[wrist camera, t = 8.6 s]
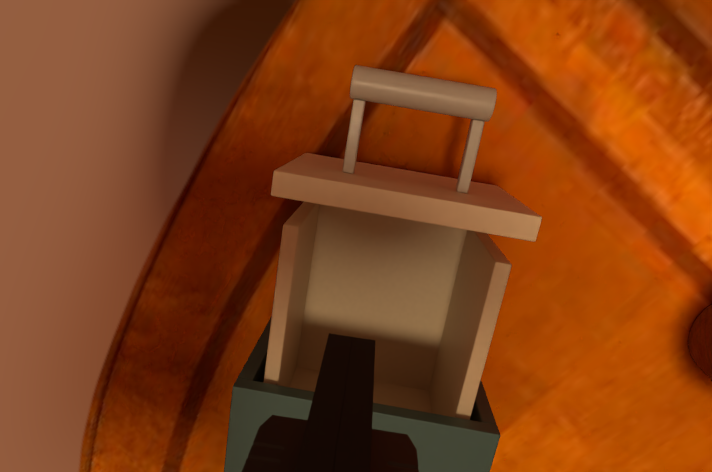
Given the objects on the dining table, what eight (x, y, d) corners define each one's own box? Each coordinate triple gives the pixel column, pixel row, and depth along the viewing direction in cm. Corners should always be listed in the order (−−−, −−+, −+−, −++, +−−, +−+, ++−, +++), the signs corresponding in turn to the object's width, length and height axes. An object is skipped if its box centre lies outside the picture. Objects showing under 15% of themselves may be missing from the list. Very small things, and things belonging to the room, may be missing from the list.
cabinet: (279, 301, 34) (232, 386, 23) (465, 334, 33) (500, 435, 23) (255, 486, 38) (207, 624, 28) (419, 516, 38) (432, 667, 28)
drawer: (317, 65, 28) (287, 47, 20) (519, 99, 28) (577, 96, 20) (277, 364, 34) (241, 449, 25) (445, 394, 34) (465, 491, 25)
